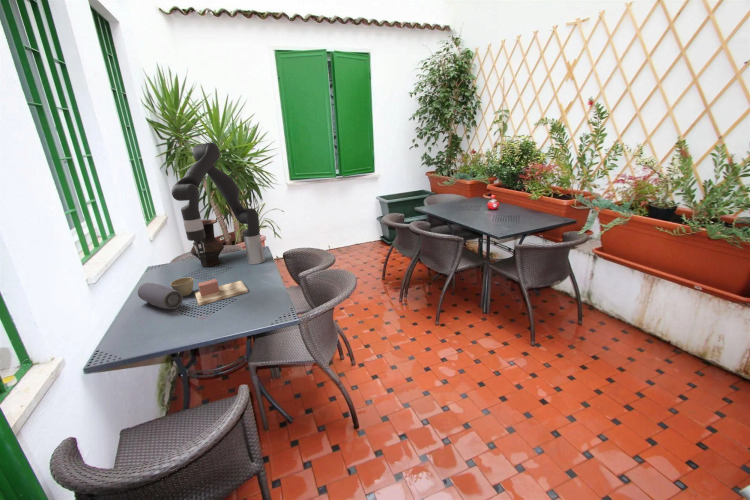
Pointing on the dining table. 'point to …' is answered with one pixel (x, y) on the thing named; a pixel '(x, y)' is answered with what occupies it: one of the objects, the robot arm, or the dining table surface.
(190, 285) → the flower pot
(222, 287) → the board
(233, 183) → the robot arm
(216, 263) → the jug
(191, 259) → the dining table surface
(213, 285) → the block
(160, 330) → the dining table surface
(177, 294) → the bluetooth speaker
